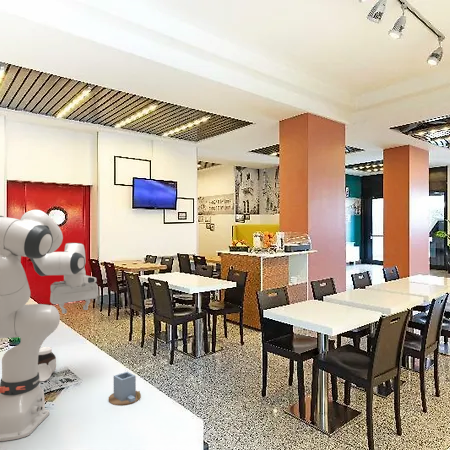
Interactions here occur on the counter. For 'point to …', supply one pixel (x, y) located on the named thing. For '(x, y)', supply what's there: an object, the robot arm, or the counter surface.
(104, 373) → the counter surface
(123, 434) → the counter surface
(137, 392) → the post plate
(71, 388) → the counter surface
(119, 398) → the open square bin
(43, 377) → the spread jar
